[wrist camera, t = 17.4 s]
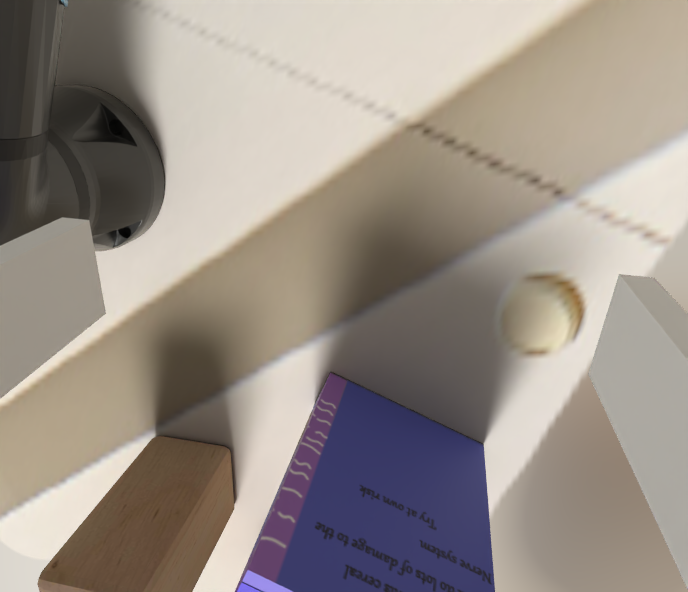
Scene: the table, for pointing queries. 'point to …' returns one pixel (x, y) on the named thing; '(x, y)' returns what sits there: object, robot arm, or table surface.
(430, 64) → the table surface
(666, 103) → the table surface
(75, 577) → the wooden block
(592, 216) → the table surface
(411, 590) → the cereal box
